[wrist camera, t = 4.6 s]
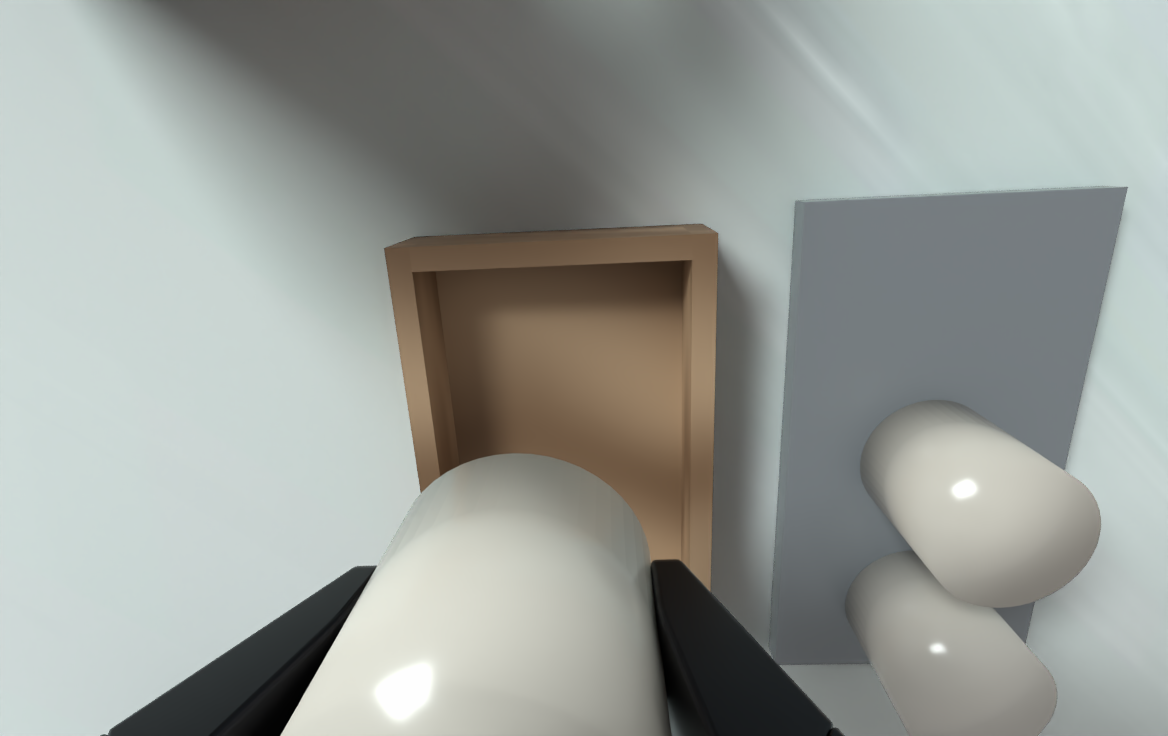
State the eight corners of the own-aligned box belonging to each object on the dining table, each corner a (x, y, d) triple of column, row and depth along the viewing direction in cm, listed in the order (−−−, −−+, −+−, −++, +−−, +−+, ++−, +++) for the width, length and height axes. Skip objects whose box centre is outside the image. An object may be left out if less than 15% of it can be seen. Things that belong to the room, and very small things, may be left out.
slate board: (1005, 643, 21) (1021, 661, 20) (768, 646, 21) (775, 665, 20) (1103, 185, 16) (1128, 187, 15) (795, 200, 16) (804, 202, 16)
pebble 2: (982, 515, 18) (1080, 606, 14) (853, 517, 18) (918, 608, 15) (1004, 397, 17) (1118, 464, 13) (867, 401, 17) (941, 468, 13)
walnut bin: (696, 636, 21) (708, 696, 19) (468, 639, 21) (451, 698, 19) (701, 223, 17) (717, 233, 14) (415, 236, 17) (384, 248, 15)
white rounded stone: (958, 647, 20) (1041, 761, 16) (840, 649, 20) (895, 762, 16) (976, 549, 19) (1071, 646, 15) (850, 551, 19) (912, 648, 15)
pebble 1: (653, 668, 10) (685, 999, 6) (415, 671, 10) (294, 993, 6) (649, 449, 8) (687, 682, 5) (378, 457, 9) (197, 687, 5)
